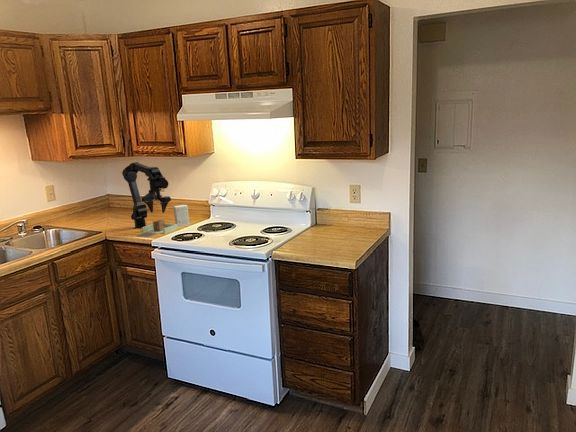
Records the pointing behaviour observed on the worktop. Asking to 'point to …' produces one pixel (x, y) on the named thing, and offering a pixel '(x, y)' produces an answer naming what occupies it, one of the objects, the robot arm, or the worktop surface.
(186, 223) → the small box
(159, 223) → the walnut block
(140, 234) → the mat
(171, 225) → the crate
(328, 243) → the worktop surface
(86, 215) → the worktop surface
